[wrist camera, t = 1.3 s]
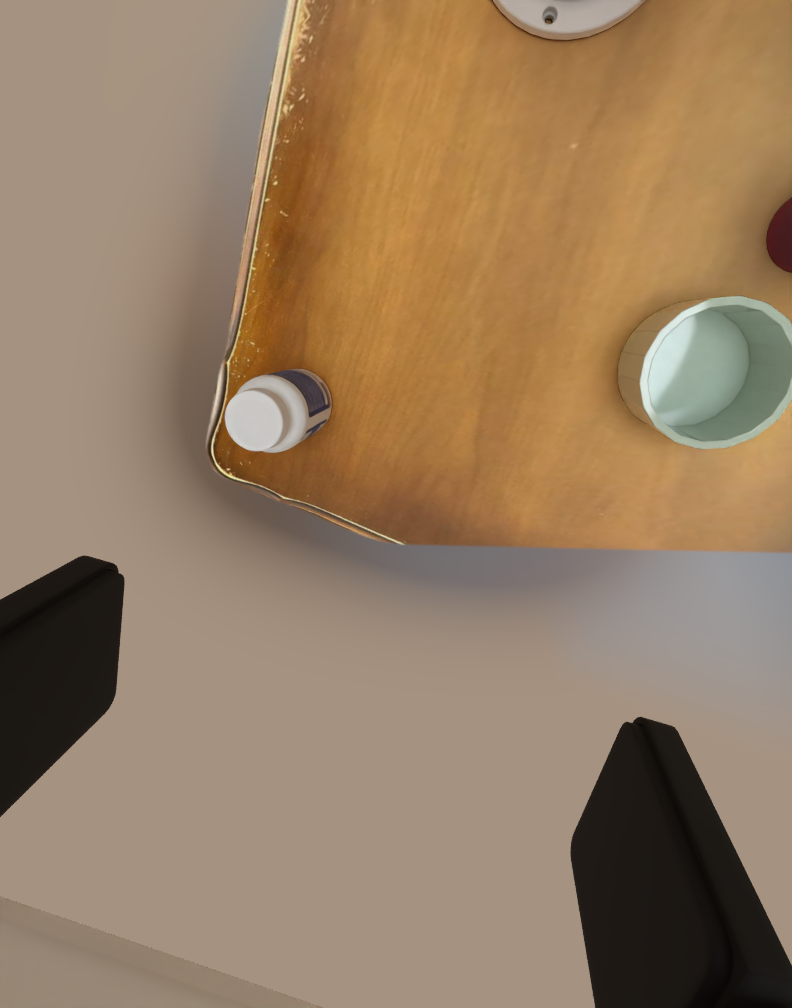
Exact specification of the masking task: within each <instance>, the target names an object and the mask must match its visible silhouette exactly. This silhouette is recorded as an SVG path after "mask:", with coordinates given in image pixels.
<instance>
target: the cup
mask: <svg viewBox="0 0 792 1008" xmlns="http://www.w3.org/2000/svg"><path fill="white" fill-rule="evenodd" d="M767 248H768V251H769V255H770V256H771V258H772V260H773V261H774V262H775V263H776V264H777V265H778V266H779V267H780V268H782V269H783V270H785V271H788V272H791V273H792V198H791V199H789V200H788V201H787V202H785V203H784V204H783V205H782V206H781V207H780V208H779V210H778V211H777V213H776V214H775V215H774V217H773V219H772V221H771V223H770V226H769V229H768V233H767Z"/></svg>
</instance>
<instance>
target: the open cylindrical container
mask: <svg viewBox="0 0 792 1008" xmlns="http://www.w3.org/2000/svg"><path fill="white" fill-rule="evenodd" d="M618 386H619V390H620V393H621V396H622V398H623V400H624V402H625V404H626V406H627V407H628V408H629V410H630V411H631V412H632V414H633V415H635V416H636V417H637V418H638V419H640V420H641V421H643V422H644V423H645V424H647V425H648V426H650V427H651V428H653V429H654V430H656V431H658V432H659V433H661V434H663V435H664V436H666V437H668V438H669V439H671V440H672V441H674V442H676V443H679V444H683V445H687V446H690V447H694V448H697V449H713V448H727V447H731V446H733V445H736V444H739V443H741V442H744V441H747V440H749V439H752V438H754V437H756V436H757V435H758V434H760V433H761V432H762V431H764V430H765V429H766V428H768V427H769V426H770V425H772V424H773V423H774V422H776V421H777V419H779V417H780V416H781V415H782V413H783V412H784V410H785V409H786V408H787V406H788V405H789V403H790V402H791V401H792V325H791V323H790V321H789V319H788V318H787V317H785V316H784V315H783V314H781V313H780V312H779V311H777V310H776V309H775V308H774V307H772V306H771V305H770V304H768V303H766V302H763V301H759V300H755V299H752V298H748V297H744V296H739V295H738V296H729V297H719V298H710V299H702V300H694V301H687V302H679V303H676V304H674V305H671V306H668V307H665V308H663V309H661V310H659V311H657V312H656V313H654V314H652V315H651V316H649V317H648V318H647V319H646V320H644V321H643V322H642V323H641V324H640V325H639V326H638V327H637V328H636V329H635V330H634V332H633V333H632V334H631V336H630V337H629V339H628V340H627V342H626V344H625V346H624V348H623V350H622V353H621V356H620V359H619V365H618Z"/></svg>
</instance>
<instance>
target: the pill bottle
mask: <svg viewBox="0 0 792 1008" xmlns="http://www.w3.org/2000/svg"><path fill="white" fill-rule="evenodd" d="M331 408H332V399H331V395H330V392H329V389H328V387H327V385H326V384H325V383H324V381H323V380H322V379H321V378H320V377H319V376H317V375H316V374H314V373H312V372H310V371H308V370H304V369H289V370H284V371H280V372H276V373H271V374H267V375H261V376H258V377H255V378H253V379H251V380H249V381H247V382H246V383H245V384H244V385H243V386H242V387H241V388H240V389H239V391H238V392H237V394H236V395H235V396H234V397H233V398H232V399H231V400H230V402H229V404H228V406H227V408H226V411H225V423H226V428H227V430H228V432H229V434H230V436H231V437H232V439H233V440H234V441H235V442H236V443H237V444H238V445H240V446H241V447H243V448H245V449H247V450H251V451H264V452H269V453H277V452H282V451H286V450H288V449H290V448H292V447H294V446H295V445H297V444H298V443H300V442H302V441H303V440H305V439H306V438H308V437H310V436H311V435H313V434H314V433H316V432H317V431H318V430H320V429H321V428H322V427H323V426H324V425H325V424H326V422H327V421H328V419H329V417H330V413H331Z"/></svg>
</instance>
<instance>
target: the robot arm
mask: <svg viewBox="0 0 792 1008" xmlns="http://www.w3.org/2000/svg"><path fill="white" fill-rule="evenodd" d="M645 1H646V0H493V2H494V3H495V5H496V6H497V8H498V9H499V10H500V12H502V13H503V14H504V15H505V16H506V17H507V18H508V19H509V20H510V21H511V22H512V23H513V24H515V25H516V26H518V27H520V28H521V29H523V30H525V31H527V32H528V33H530V34H533V35H537V36H540V37H543V38H547V39H556V40H572V39H578V38H584V37H589V36H591V35H594V34H596V33H599V32H602V31H604V30H607V29H609V28H610V27H612V26H614V25H615V24H617V23H619V22H620V21H622V20H623V19H625V18H627V17H628V16H629V15H630V14H631V13H632V12H634V11H635V10H636V9H637V8H638V7H639V6H640V5H641V4H643V3H644V2H645ZM546 19H551V20H552V21H553V23H552V24H546V23H545V20H546ZM123 594H124V577H123V575H122V574H119V573H118V568H117V566H116V565H115V564H113V563H110V562H106V561H103V560H100V559H96V558H93V557H89V556H81V557H78V558H76V559H74V560H73V561H71V562H69V563H67V564H65V565H64V566H62V567H60V568H58V569H56V570H54V571H53V572H50V573H49V574H47V575H45V576H43V577H41V578H40V579H38V580H36V581H34V582H32V583H30V584H28V585H26V586H25V587H23V588H21V589H19V590H17V591H15V592H14V593H12V594H10V595H8V596H6V597H4V598H3V599H1V600H0V817H1V815H3V814H4V813H5V812H6V811H7V810H8V809H9V808H10V807H11V805H13V804H14V803H15V802H16V801H17V800H18V799H19V798H20V797H21V796H22V795H23V794H24V793H25V792H26V791H27V790H28V789H29V788H30V787H31V786H32V785H33V784H34V783H35V782H36V781H37V780H38V779H39V778H40V777H41V776H42V775H43V774H44V773H45V772H46V771H47V770H48V769H49V768H50V767H51V766H52V765H53V764H54V763H55V762H56V761H57V760H58V759H59V758H60V757H61V756H62V755H63V754H64V753H65V752H66V751H67V750H68V749H69V748H70V747H71V746H72V745H73V744H74V743H75V742H76V741H77V740H78V739H79V738H80V737H81V736H82V735H83V734H84V733H85V732H87V731H88V729H89V728H90V727H92V726H93V725H94V724H95V723H96V722H97V721H98V720H99V719H100V718H101V717H102V716H103V715H104V714H105V713H106V711H107V710H108V709H109V707H110V706H111V704H112V702H113V700H114V697H115V694H116V684H117V672H118V659H119V647H120V634H121V621H122V608H123ZM571 862H572V868H573V874H574V880H575V886H576V893H577V898H578V905H579V911H580V917H581V923H582V929H583V935H584V941H585V947H586V953H587V960H588V966H589V971H590V978H591V984H592V990H593V996H594V1002H595V1008H792V965H791V963H790V961H789V959H788V957H787V955H786V953H785V951H784V949H783V947H782V945H781V943H780V941H779V939H778V936H777V934H776V932H775V930H774V928H773V926H772V924H771V922H770V920H769V918H768V916H767V914H766V912H765V910H764V908H763V906H762V904H761V902H760V899H759V897H758V895H757V893H756V891H755V889H754V887H753V885H752V883H751V881H750V879H749V877H748V875H747V873H746V871H745V869H744V867H743V865H742V862H741V861H740V858H739V856H738V854H737V853H736V850H735V848H734V846H733V844H732V842H731V840H730V838H729V836H728V834H727V832H726V830H725V828H724V826H723V823H722V821H721V819H720V817H719V815H718V813H717V811H716V809H715V807H714V805H713V803H712V801H711V799H710V797H709V795H708V793H707V791H706V789H705V786H704V784H703V782H702V780H701V778H700V776H699V774H698V772H697V770H696V768H695V766H694V764H693V762H692V760H691V758H690V756H689V754H688V752H687V750H686V747H685V745H684V743H683V741H682V739H681V737H680V735H679V733H678V731H677V730H676V729H675V727H673V726H670V725H667V724H663V723H660V722H656V721H653V720H649V719H646V718H643V717H638V718H636V719H635V720H634V722H633V723H629V722H625V723H624V724H623V725H622V727H621V728H620V730H619V733H618V735H617V737H616V740H615V742H614V744H613V746H612V748H611V751H610V753H609V755H608V758H607V760H606V762H605V764H604V767H603V769H602V771H601V773H600V775H599V778H598V780H597V782H596V785H595V787H594V789H593V791H592V793H591V796H590V798H589V800H588V802H587V805H586V807H585V809H584V811H583V814H582V816H581V818H580V821H579V823H578V825H577V827H576V830H575V832H574V834H573V837H572V842H571ZM0 1008H322V1007H319V1006H316V1005H313V1004H310V1003H308V1002H305V1001H302V1000H299V999H296V998H293V997H290V996H288V995H285V994H282V993H279V992H276V991H273V990H271V989H267V988H265V987H262V986H259V985H256V984H253V983H250V982H248V981H245V980H242V979H239V978H236V977H233V976H230V975H227V974H225V973H221V972H219V971H216V970H213V969H210V968H207V967H204V966H201V965H198V964H195V963H193V962H190V961H187V960H184V959H181V958H178V957H175V956H173V955H169V954H167V953H164V952H161V951H158V950H155V949H152V948H149V947H147V946H144V945H141V944H138V943H135V942H132V941H129V940H126V939H123V938H120V937H118V936H115V935H112V934H109V933H106V932H103V931H100V930H97V929H94V928H91V927H88V926H85V925H83V924H79V923H77V922H73V921H71V920H68V919H65V918H62V917H59V916H56V915H53V914H50V913H47V912H44V911H41V910H38V909H35V908H32V907H29V906H27V905H23V904H21V903H18V902H15V901H12V900H9V899H6V898H3V897H0Z"/></svg>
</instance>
